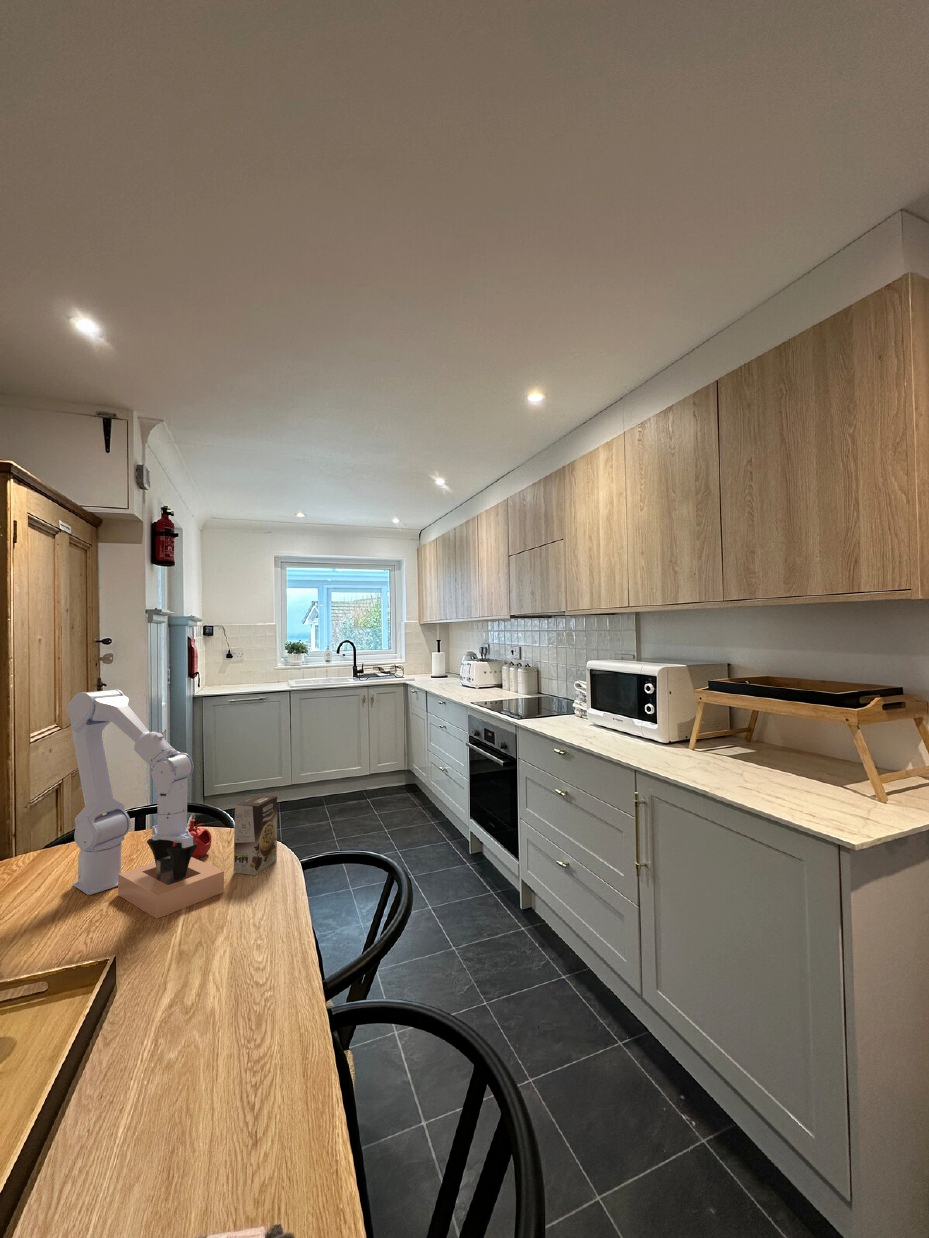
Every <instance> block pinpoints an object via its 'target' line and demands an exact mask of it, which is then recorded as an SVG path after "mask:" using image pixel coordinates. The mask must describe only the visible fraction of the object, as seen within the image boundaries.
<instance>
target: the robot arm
mask: <svg viewBox="0 0 929 1238" xmlns="http://www.w3.org/2000/svg"><path fill="white" fill-rule="evenodd" d="M67 711H68V712H67V713H68V716H69V717H68V718H69V722H70V727H71V735H72V741H73V745H74V753H75V757H76V762H77V769H78V774H79V779H80V780H79V781H80V785H81V790H82V796H83V801H84V807H83V809H82V810H81V811H80V812H79V813H78V814H77V815H76V816H75V818H74V823H75V828H74V829H75V830H74V833H73V834H74V835H73V836H74V837H73V838H74V842H75V843H76V846H77V847H78V848H80V852H79V854H78V858H77V861H78V862H77V865H78V866H77V881H75V882H73V883H72V886H74V887H75V888H76V889H79V890H80V892H81V891H82V893H84V894H86V895H87V896H91V895H95V894H98V893H101V892H104V891H106V890H109V889H113V888H115V887H118V874H120V873H122V842H123V841H125V836H126V835H127V834H128V833H129V831H130V829H131V825H132V824H131V818H130V815H129V814H128V812H127V811H126V808H125V804H124V802H122V801H120V800H117V799H116V798H114V794H113V789H112V785H111V779H110V773H109V768H108V762H107V757H106V753H105V747H104V741H103V737H102V732H103V731H104V730H105V728H106V727H107V726H108V725H109V724H111V723H112V724H113V725H115V726H116V727H117V728H119V730H121V731H122V732H123V733H124V734H125V735H126V736H127V737H128V738H130V739H131V740H132V741H133V742H134V747H133V749H134V751H135V753H137V754H138V756H139V757H140V758H141V759H142V760H143V761H144V762H145V763H146V764H147V765H148V766H149V767H150V768H151V771H150V774H151V778H152V781H153V782H154V784H155V790H156V793H157V815H156V816H157V817H156V819H157V821H156V823H157V824H156V825H153V826H151V837H150V839H147V840H146V844H147V845H148V846H149V848H150V850H151V853H152V854H153V858H154V861H155V863H156V867H157V860H158V859H161V858H165V857H168V856H170V858H171V861H172V868H173V876H174V879H175V880H178V879H181V878H184V877H185V876H186V873H187V869H188V865H189V862H190V859H191V857H192V854H193V852H194V851H195V849H196V848H197V843H195V842H193V836H191V835H190V833H189V831H188V829H187V828H188V821H187V820H188V778H189V777H190V776H191V775H192V774H193V772H194V769H195V768H194V767H195V766H194V762H193V759H192V757H191V756H190V755H189V754H188V753H186V752H180V751H179V750H176V749H175V748H174V747H173V746H172V745H171V744H170V743H169V742H168V741H167V740H166V739H165V738H164V735H163V734H162V733H160V732H158V731H149V729H148V728H147V726H145V725H144V723H143V722H142V720H141V719H140V718H139V716H137V714H136V713H135V712H134V711H133V710H132V708H131V707H130V699H129V697H128V696H126V694H124V692H123V691H122V690H120V689H117V688H114V689H108V690H99V691H88V692H86V691H82V692H77V693H76V694H74V696H73V697H72V699H71V700H70V702H69V703H68V704H67ZM100 815H101V816H100ZM174 842H176V843H177V846H173V843H174ZM172 846H173V847H172Z"/></svg>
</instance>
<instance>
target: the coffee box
mask: <svg viewBox="0 0 929 1238" xmlns="http://www.w3.org/2000/svg"><path fill="white" fill-rule="evenodd" d="M233 833H234V834H233V835H234V836H233V838H234V839H233V873H234V874H243V875H250V876H251V875H253V876H256V875H258V874H260V873H261V872H262V871H263V870H265V869H266V868H268V867H269V866H271V865H272V864H274V863H275V862H276V861H277V859H278V858H277V857H278V855H277V853H278V795H254V796H252V797H250V798H248V799H245V800H242V801H240V802H238V803H236V804H235V805H234V832H233ZM273 862H274V863H273Z"/></svg>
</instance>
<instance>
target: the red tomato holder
mask: <svg viewBox="0 0 929 1238" xmlns="http://www.w3.org/2000/svg"><path fill="white" fill-rule="evenodd" d="M195 821H196V819H190V820H189V822H190V823H189V828H188V827H187V829H188V831H189V833H190V835H191V836H193V842H195V843H197V848H196V849H195V851H194V852H193V854H192V857H193V858H195V859H197V860H198V859H201V858H203V857H204V856H205V855H206V854H208V853H209V851H210V849H211V846H212V841H213V840H212V834H211V832H210V831H209V830H208V829H207V828H204V827H203V828H202V827H201V828H200V826H203V825H205V824H206V823H198V824H197V825H194V824H195ZM173 846H177V843H176V842H174V843H173ZM173 846H172V847H173Z"/></svg>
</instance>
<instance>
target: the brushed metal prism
mask: <svg viewBox="0 0 929 1238" xmlns="http://www.w3.org/2000/svg"><path fill="white" fill-rule="evenodd" d="M156 879H157V880H159V881H161V882H163V883H165V884H167V885H170V884H173V883H176V882H179V881H182V880H183V878H181V879H178V880H175V879H174V876H173V868H172V861H171V858H170V856H168V857H165V858H161V859H158V860H157V871H156Z"/></svg>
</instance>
